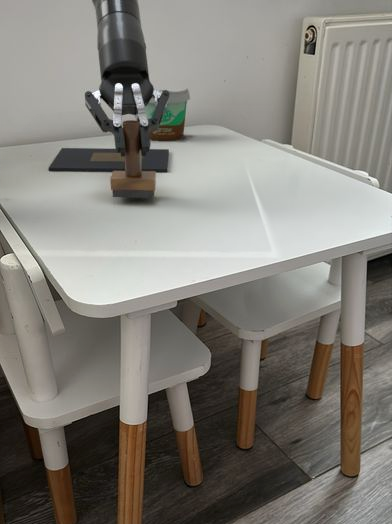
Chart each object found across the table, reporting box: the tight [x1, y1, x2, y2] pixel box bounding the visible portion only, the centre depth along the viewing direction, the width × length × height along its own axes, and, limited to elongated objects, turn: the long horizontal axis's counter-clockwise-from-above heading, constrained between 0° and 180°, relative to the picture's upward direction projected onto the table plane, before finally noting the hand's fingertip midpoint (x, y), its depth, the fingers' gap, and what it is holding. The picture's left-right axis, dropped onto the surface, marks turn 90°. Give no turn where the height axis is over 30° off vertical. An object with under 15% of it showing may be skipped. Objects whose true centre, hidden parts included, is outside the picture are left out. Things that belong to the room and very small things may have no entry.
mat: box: [47, 147, 170, 173], centre depth 109 cm, size 22×14×1 cm, turn 91°
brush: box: [109, 119, 157, 199], centre depth 88 cm, size 7×4×11 cm, turn 91°
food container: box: [145, 87, 191, 142], centre depth 122 cm, size 12×6×10 cm, turn 104°
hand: (133, 153), depth 85 cm, fingers closed on brush, 2 cm apart
